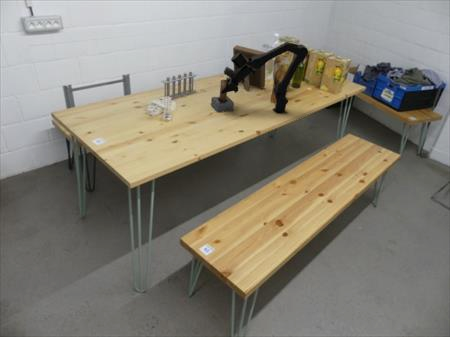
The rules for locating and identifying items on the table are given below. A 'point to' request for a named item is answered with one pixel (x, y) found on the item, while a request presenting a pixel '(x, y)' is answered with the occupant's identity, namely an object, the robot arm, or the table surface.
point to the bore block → (222, 104)
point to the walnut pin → (223, 85)
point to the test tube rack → (179, 85)
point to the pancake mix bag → (280, 71)
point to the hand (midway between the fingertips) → (221, 91)
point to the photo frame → (259, 76)
